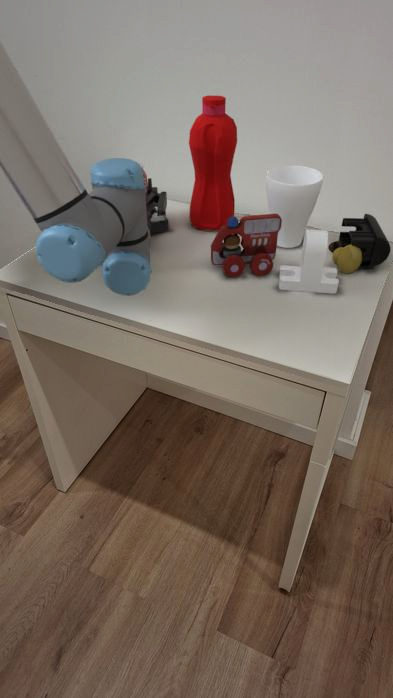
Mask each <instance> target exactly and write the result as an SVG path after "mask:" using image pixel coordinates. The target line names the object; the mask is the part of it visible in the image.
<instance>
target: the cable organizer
mask: <svg viewBox="0 0 393 698" xmlns="http://www.w3.org/2000/svg"><path fill="white" fill-rule="evenodd" d="M328 245H329V231H328V230H319V229H305V231H304V235H303V243H302V249H301V256H300V263H299V265H286V264H283V265H280V267H279V275H278V279H279V281H278V282H279V283H278V288H279V290H281V291H290V292H304V293H305V292H306V293H320V294H332V295H333V294H337V292H338V287H339V283H340V279H339V278H337V277H338V270H337V269H338V268H336V267H326V266H325V263H326V258H327V252H328Z"/></svg>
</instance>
